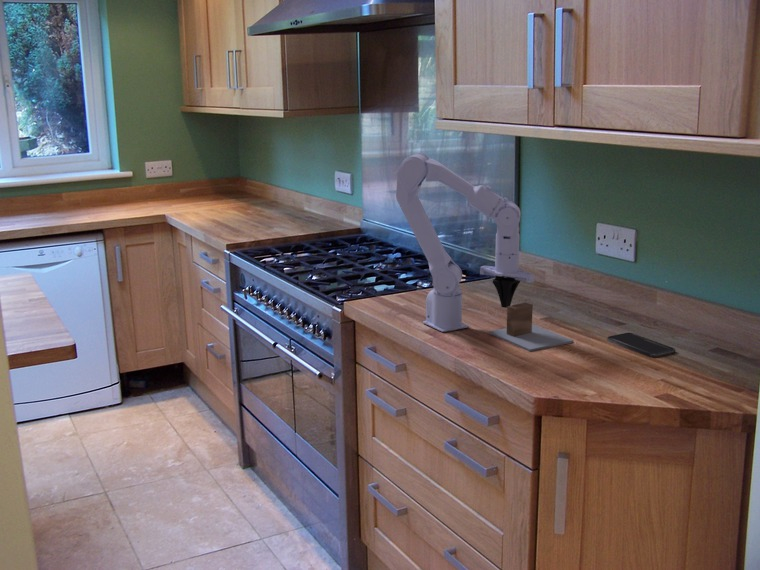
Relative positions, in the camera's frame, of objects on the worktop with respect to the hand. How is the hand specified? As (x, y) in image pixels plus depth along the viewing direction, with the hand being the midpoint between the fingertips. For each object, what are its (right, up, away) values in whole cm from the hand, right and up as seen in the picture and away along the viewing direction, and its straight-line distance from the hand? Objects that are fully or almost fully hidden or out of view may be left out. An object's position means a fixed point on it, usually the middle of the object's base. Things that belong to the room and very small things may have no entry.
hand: (505, 306), depth 204 cm
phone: (+29, -9, -12) cm, 33 cm away
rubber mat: (+5, -7, -5) cm, 10 cm away
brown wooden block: (+3, -6, -3) cm, 8 cm away
